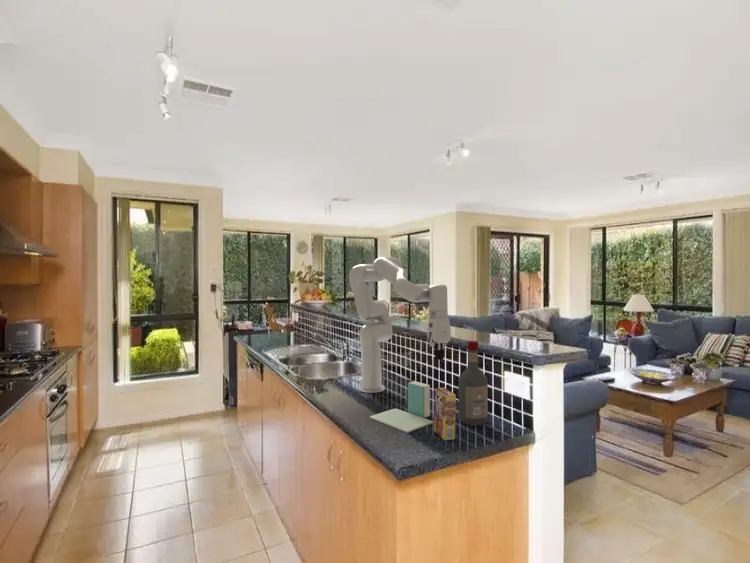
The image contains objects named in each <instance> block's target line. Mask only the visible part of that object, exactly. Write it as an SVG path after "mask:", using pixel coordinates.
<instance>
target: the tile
mask: <svg viewBox="0 0 750 563" xmlns="http://www.w3.org/2000/svg"><path fill="white" fill-rule="evenodd" d="M430 394H431V385H430V384H426V383H424V382H420V381H416V380H413V381H410V382H407V412H408V413H411V414H413V415H416V416H419V417H422V418H425V419H426V418H427V417H431V411H430V410H431V409H430V408H431V395H430Z"/></svg>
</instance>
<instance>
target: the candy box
mask: <svg viewBox="0 0 750 563" xmlns="http://www.w3.org/2000/svg"><path fill="white" fill-rule="evenodd" d="M456 400H457V395H456V394H455V393H453V392H452V391H451V390H449V389H448V388H446V387H437V388H434V430H433V431H434V433H436V434H437V435H438V436H439V437H440V438H441V439H442V440H443V441H452V440H453V441H454V440H456V407H457V406H456V403H457V401H456Z"/></svg>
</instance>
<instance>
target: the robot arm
mask: <svg viewBox="0 0 750 563" xmlns="http://www.w3.org/2000/svg"><path fill="white" fill-rule="evenodd" d="M348 276H349V277H348V279H349V280H348V281H349V284H350V289H351V291H352V293H353V297H354V302H355V307H356V311H357V315H358V317H359V320H361V321H362V322H363V321H364V322H367V321H368V322H369V323H366V324H364V325H362V326H361V327H360V329H359V332H358V333H359V335H358V336H359V341H360V346H361V347H360V350H361V352H360V353H361V377H360V378H359V379H357V382H358V383H360V385H359V386H358V391H359V392H362V393H366V394H367V393H368V394H376V393H381V392H384V391H385V389H386V388H385V385H384V384H382V378H383V376H382V349H381V347H380V345H379V344H380V343H382V342H383V343H384V342H387V341H389V340H390V339H391V338H392V336H393V326H392V321H391V316H390V313H389V309H388V306H387V305H386V303H385V302H384V301H382V300H377V299H376V300H374V298H373V296H372V291H371V289H370V287H369V286H368V285H367V283H369V282H371V283H372V282H374V283H375V282H381V281H385V280H386V281H387V282H389V283H391V284H392V285H393V287H394V289H395V291H396V293H397V294H398V295H400V296H401V297H402V298H404V299H405V300H407V301H408V302H411V303H425V302H426V303H427V302H428V311H429V312H428V316H429V318H428V323H427V342H429V344H428V345H429V347H433V350H434V360H439V361H441V360H444V349H445V346H446V345H447V344H449V342H450V341H451V340H452V333H451V332H452V331H451V323H450V318H449V314H448V312H449V310H448V308H449V307H448V305H449V304H448V287H447V285H446V284H429V283H418V284H417V283H416V284H415V283H414V282H412V281H410V280H408V279H407V277H408V271H407V269H405V268H404V267H403V265H402V262H401V261H400V259H399V258H396V257H393V256H380V257H378V258H376V259H375V260H374V261H373V263H361V264H357V265H355V266H353V267H352V268H351V270H350V273H349V275H348ZM366 282H367V283H366ZM370 321H374V322H371V323H370Z"/></svg>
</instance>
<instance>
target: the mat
mask: <svg viewBox="0 0 750 563" xmlns="http://www.w3.org/2000/svg"><path fill="white" fill-rule="evenodd" d="M369 419H371V420H374V421H376V422H378V423H381V424H384V425H386V426H388V427H391V428H394V429H397V430H399V431H401V432H404V433H407V434H408V433H411V432H413V431H417V430H419V429H422V428H424V427H427V426H429V425H432V424H435V420H434V421H433V420H431V419H427V418H426V417H425V418H422V417H419V416H416V415H413V414H411V413H408V411H404V410H401V409H399V408H391V409H389V410H385V411H382V412H379V413H376V414H373V415H370V416H369Z"/></svg>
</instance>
